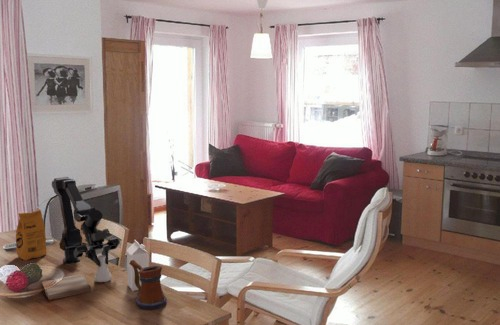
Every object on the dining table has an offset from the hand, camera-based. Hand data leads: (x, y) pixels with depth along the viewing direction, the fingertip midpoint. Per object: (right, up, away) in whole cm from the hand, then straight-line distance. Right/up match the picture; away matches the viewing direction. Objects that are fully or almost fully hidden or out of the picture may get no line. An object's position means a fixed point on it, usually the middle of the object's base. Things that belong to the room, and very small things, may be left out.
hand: (103, 265), depth 218 cm
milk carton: (+15, -8, -3) cm, 18 cm away
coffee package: (-44, -2, +33) cm, 55 cm away
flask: (-1, -7, +2) cm, 7 cm away
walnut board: (-14, -9, -5) cm, 17 cm away
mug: (+21, -11, -17) cm, 29 cm away
